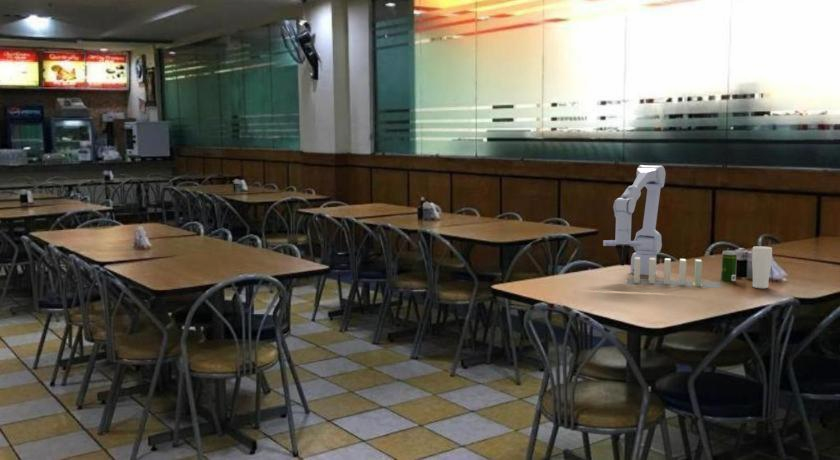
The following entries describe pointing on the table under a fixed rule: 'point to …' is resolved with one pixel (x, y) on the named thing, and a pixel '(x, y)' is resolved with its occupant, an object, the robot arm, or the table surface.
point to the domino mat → (676, 283)
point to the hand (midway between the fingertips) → (622, 265)
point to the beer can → (728, 266)
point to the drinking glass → (761, 266)
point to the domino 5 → (698, 272)
